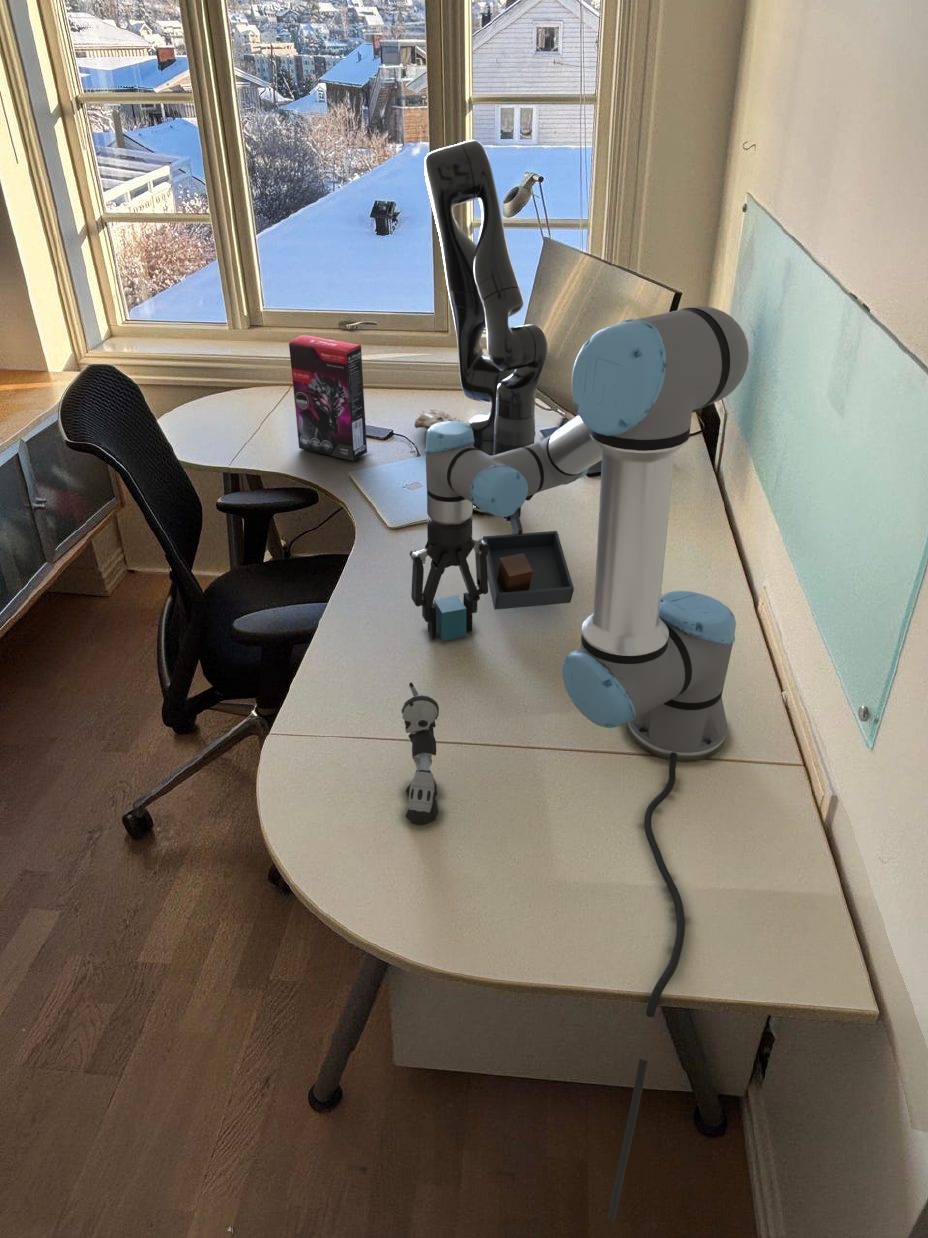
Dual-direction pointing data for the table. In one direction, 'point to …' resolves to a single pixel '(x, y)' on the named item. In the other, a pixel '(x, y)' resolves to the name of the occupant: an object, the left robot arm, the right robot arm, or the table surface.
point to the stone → (433, 419)
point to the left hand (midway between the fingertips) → (510, 519)
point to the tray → (543, 559)
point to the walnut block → (514, 573)
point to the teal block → (450, 618)
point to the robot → (421, 756)
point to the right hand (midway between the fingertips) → (450, 630)
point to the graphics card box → (329, 396)
